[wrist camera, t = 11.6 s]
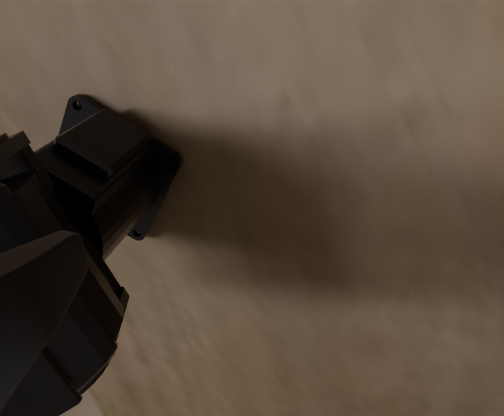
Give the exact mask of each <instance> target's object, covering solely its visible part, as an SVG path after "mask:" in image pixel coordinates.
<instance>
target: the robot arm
mask: <svg viewBox="0 0 504 416" xmlns="http://www.w3.org/2000/svg"><path fill="white" fill-rule="evenodd" d="M77 102H79V103H80V104H81V108H80V107H79V106H78V105H77ZM30 143H31V142H30V141H29V139H28V138H27V136H26V134H25V133H24V131H21V132H18V133H16V134H14V135H11V136H9V137H8V136H7V134H6V133H4V134H2V135H0V416H59V415H61V414H63V413H64V412H66V411H68V410H69V409H71V408H73V407H74V406H76V405H77V404H79V403H80V401H81V400H82V396H81V394H83V393H84V392H85V391H86V390H87V389H88V388H89V387H91V386H92V385H93V384H94V383H95V382H96V380H97V379H98V378H99V377H100V376H101V375H102V373H103V372H104V370H105V369H106V367H107V366H108V364H109V362H110V360H111V358H112V357H113V355H114V354H115V352H116V349H117V343H116V341H117V337H118V334H119V331H120V327H121V324H122V321H123V317H124V313H125V310H126V307H127V303H128V300H129V294H128V293H127V291H126V290H125V288H124V287H121V286H120V285H119V283H118V282H117V280H116V278H115V277H114V275H113V274H112V272H111V271H110V269H109V268H108V266H107V265H106V263H105V259H106V258H107V257H108V256H109V255H110V254H111V253H112V251H113V250H114V249H115V248H116V247H117V246H118V244H119V243H120V242H121V241H122V240H123V239H124V237H125V236H126V235H128V236H130V237H131V238H133V239H135V240H143V239H144V238H145V236H146V235H147V234H148V232H149V230H150V228H151V226H152V224H153V222H154V220H155V218H156V216H157V214H158V212H159V210H160V208H161V206H162V204H163V202H164V200H165V198H166V196H167V194H168V192H169V190H170V188H171V186H172V184H173V182H174V180H175V178H176V176H177V174H178V172H179V170H180V168H181V166H182V163H183V160H182V157H181V155H180V154H179V153H178V152H176V151H174V150H173V149H171V148H169V147H168V146H166V145H164V144H163V143H161V142H159V141H158V140H156V139H155V138H153V137H151V136H150V135H149V133H148V132H146V131H144V130H143V129H141V128H139V127H138V126H136V125H135V124H133V123H131V122H130V121H128V120H126V119H125V118H123V117H121V116H120V115H118V114H116V113H115V112H113V111H111V110H110V109H108V108H106V109H105V108H104V107H102V106H100V105H99V104H97V103H95V102H94V101H92V100H90V99H89V98H87V97H85V96H84V95H81V94H76V95H74V96H72V97H71V98H69V100H68V103H67V107H66V110H65V114H64V117H63V121H62V125H61V128H60V132H59V135H58V136H57V137H56V138H55V140H53V141H51V142H50V143H48V144H46V145H45V146H43V147H41V148H40V149H38V150H36V151H35V152H33V150H32V149H31V147H30V146H29V144H30ZM169 158H171V159H173V160H174V161H175V164H172V163H171V162H170V160H169ZM136 230H138V231H139V232H140V233H138V232H137V231H136Z"/></svg>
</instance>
